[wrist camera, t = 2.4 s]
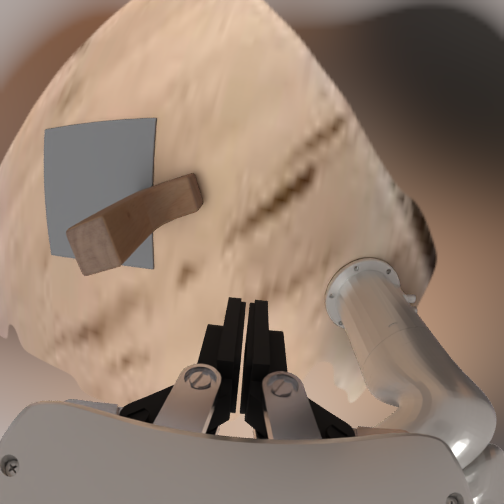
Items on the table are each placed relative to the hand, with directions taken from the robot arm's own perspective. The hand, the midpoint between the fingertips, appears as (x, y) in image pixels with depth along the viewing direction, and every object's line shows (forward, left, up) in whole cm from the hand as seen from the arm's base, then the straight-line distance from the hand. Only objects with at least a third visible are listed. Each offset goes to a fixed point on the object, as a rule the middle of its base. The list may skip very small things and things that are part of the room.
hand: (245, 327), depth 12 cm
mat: (+25, 0, -27) cm, 37 cm away
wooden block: (+12, 0, -27) cm, 29 cm away
